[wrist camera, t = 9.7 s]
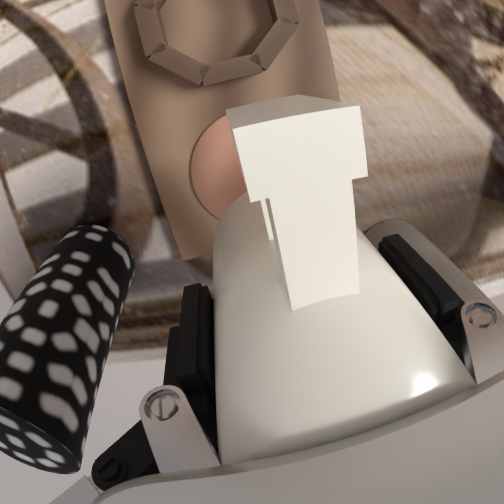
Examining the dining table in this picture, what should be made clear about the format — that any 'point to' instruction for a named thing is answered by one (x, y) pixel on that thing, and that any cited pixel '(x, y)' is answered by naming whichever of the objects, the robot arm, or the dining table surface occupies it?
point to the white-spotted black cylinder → (61, 348)
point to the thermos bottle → (428, 256)
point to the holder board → (211, 91)
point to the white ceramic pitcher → (312, 295)
